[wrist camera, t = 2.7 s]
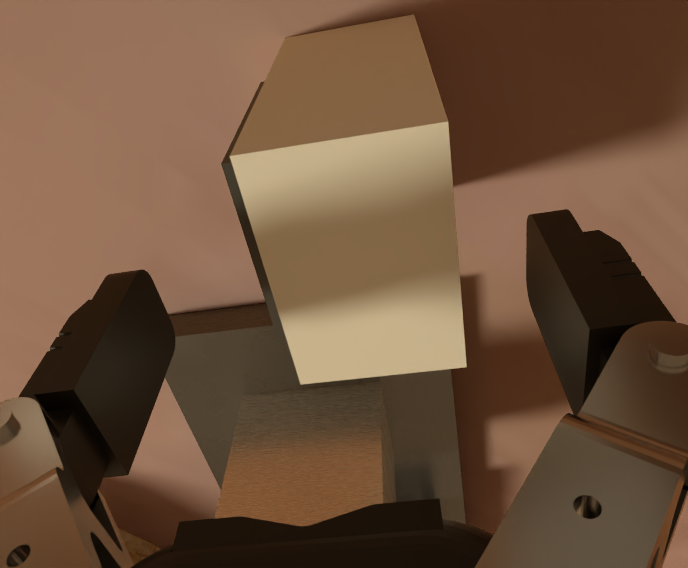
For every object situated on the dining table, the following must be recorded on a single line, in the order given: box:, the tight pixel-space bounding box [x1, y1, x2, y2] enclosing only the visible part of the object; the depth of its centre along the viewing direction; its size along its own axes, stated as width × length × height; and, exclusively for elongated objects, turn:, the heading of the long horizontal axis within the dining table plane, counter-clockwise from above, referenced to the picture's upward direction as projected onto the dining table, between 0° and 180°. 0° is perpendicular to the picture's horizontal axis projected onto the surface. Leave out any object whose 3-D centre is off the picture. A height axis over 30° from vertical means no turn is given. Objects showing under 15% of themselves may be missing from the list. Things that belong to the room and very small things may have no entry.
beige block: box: [221, 14, 467, 385], centre depth 16 cm, size 5×6×9 cm
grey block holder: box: [165, 303, 466, 526], centre depth 26 cm, size 12×22×10 cm, turn 10°
